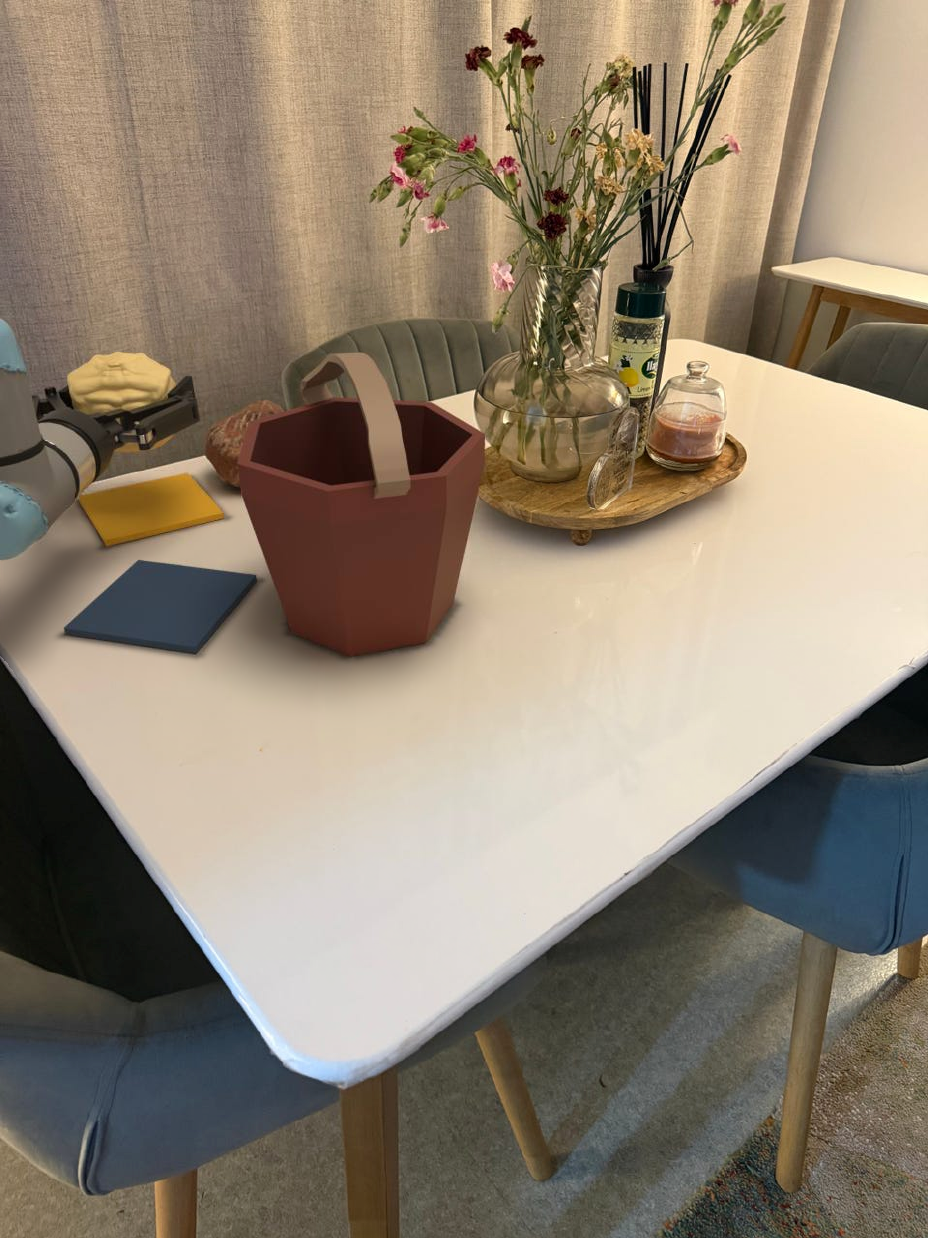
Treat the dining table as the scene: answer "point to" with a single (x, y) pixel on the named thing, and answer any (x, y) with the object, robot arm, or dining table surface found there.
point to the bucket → (362, 508)
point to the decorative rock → (233, 438)
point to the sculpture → (119, 386)
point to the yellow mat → (149, 508)
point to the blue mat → (163, 606)
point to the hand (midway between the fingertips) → (139, 385)
